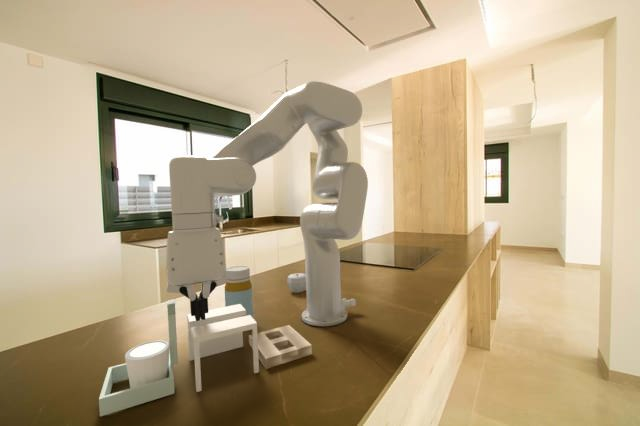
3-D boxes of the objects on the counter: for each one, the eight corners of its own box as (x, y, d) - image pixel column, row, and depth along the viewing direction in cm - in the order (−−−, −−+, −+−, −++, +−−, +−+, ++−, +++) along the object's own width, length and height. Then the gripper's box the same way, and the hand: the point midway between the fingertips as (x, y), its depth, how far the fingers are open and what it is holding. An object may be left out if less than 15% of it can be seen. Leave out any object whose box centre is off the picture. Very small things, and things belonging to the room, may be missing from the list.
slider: (176, 363, 59) (173, 294, 58) (180, 391, 50) (176, 309, 49) (109, 381, 53) (104, 305, 53) (99, 416, 44) (94, 324, 44)
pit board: (289, 333, 72) (289, 324, 72) (312, 354, 61) (311, 344, 61) (249, 343, 67) (248, 335, 67) (266, 368, 56) (265, 358, 56)
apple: (313, 290, 106) (312, 272, 106) (300, 296, 100) (299, 277, 99) (295, 287, 111) (295, 270, 110) (282, 293, 104) (281, 275, 104)
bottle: (258, 320, 80) (255, 266, 80) (243, 331, 74) (241, 272, 73) (236, 317, 83) (234, 265, 82) (220, 328, 76) (218, 271, 75)
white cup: (156, 401, 48) (153, 359, 48) (117, 400, 49) (114, 359, 48) (179, 376, 55) (177, 339, 55) (145, 375, 55) (142, 339, 55)
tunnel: (242, 345, 66) (240, 303, 66) (259, 372, 55) (256, 322, 55) (189, 359, 61) (187, 314, 61) (196, 392, 50) (193, 337, 50)
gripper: (230, 219, 62) (234, 304, 63) (149, 224, 55) (155, 320, 56) (239, 221, 56) (243, 315, 56) (148, 227, 48) (155, 335, 49)
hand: (199, 317), depth 56 cm, fingers closed
